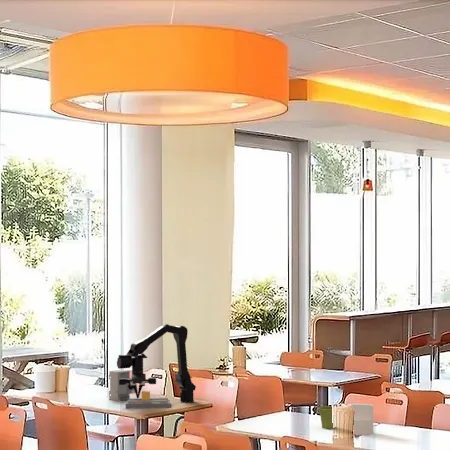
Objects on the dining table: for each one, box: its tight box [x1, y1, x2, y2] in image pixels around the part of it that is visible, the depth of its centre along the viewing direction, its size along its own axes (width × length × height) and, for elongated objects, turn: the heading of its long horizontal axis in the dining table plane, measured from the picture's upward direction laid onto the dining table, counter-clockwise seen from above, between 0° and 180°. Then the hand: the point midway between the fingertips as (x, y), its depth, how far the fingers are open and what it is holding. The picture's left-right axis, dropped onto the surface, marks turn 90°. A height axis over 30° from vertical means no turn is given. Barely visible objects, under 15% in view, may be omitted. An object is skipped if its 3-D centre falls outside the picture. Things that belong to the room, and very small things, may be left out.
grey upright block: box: [351, 403, 375, 436], centre depth 397 cm, size 9×9×12 cm
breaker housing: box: [125, 397, 171, 409], centre depth 482 cm, size 22×14×3 cm, turn 92°
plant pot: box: [317, 405, 333, 430], centre depth 410 cm, size 9×9×9 cm
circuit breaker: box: [108, 369, 136, 401], centre depth 505 cm, size 8×14×15 cm, turn 53°
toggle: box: [141, 390, 151, 400], centre depth 482 cm, size 4×5×5 cm
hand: (137, 398), depth 482 cm, fingers closed
